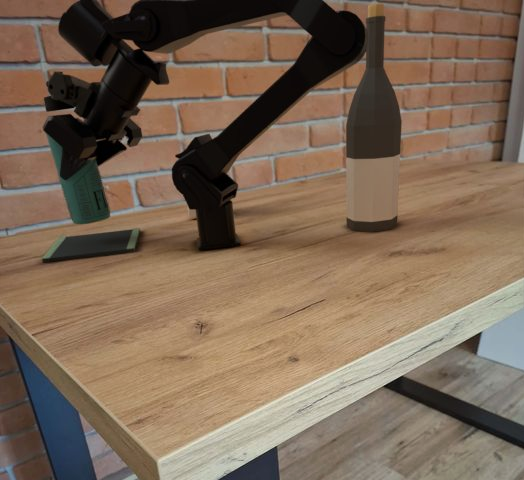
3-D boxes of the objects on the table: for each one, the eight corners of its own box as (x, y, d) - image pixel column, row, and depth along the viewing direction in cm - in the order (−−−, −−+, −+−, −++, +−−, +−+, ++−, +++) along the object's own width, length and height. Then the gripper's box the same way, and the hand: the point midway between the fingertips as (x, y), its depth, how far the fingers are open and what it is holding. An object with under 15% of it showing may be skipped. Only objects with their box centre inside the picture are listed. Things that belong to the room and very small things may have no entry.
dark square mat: (135, 251, 79) (134, 247, 79) (42, 262, 78) (41, 258, 78) (140, 231, 92) (139, 227, 92) (61, 240, 90) (60, 236, 90)
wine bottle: (346, 232, 80) (345, 3, 66) (346, 221, 87) (346, 12, 73) (399, 230, 78) (409, -4, 65) (395, 219, 85) (404, 5, 72)
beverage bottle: (105, 231, 81) (68, 91, 72) (66, 235, 82) (25, 97, 73) (120, 221, 86) (87, 90, 77) (83, 225, 87) (46, 96, 78)
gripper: (109, 52, 80) (66, 134, 87) (34, 45, 64) (-10, 145, 71) (164, 103, 81) (117, 179, 89) (104, 108, 65) (53, 200, 73)
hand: (73, 175), depth 81 cm, fingers closed on beverage bottle, 5 cm apart
